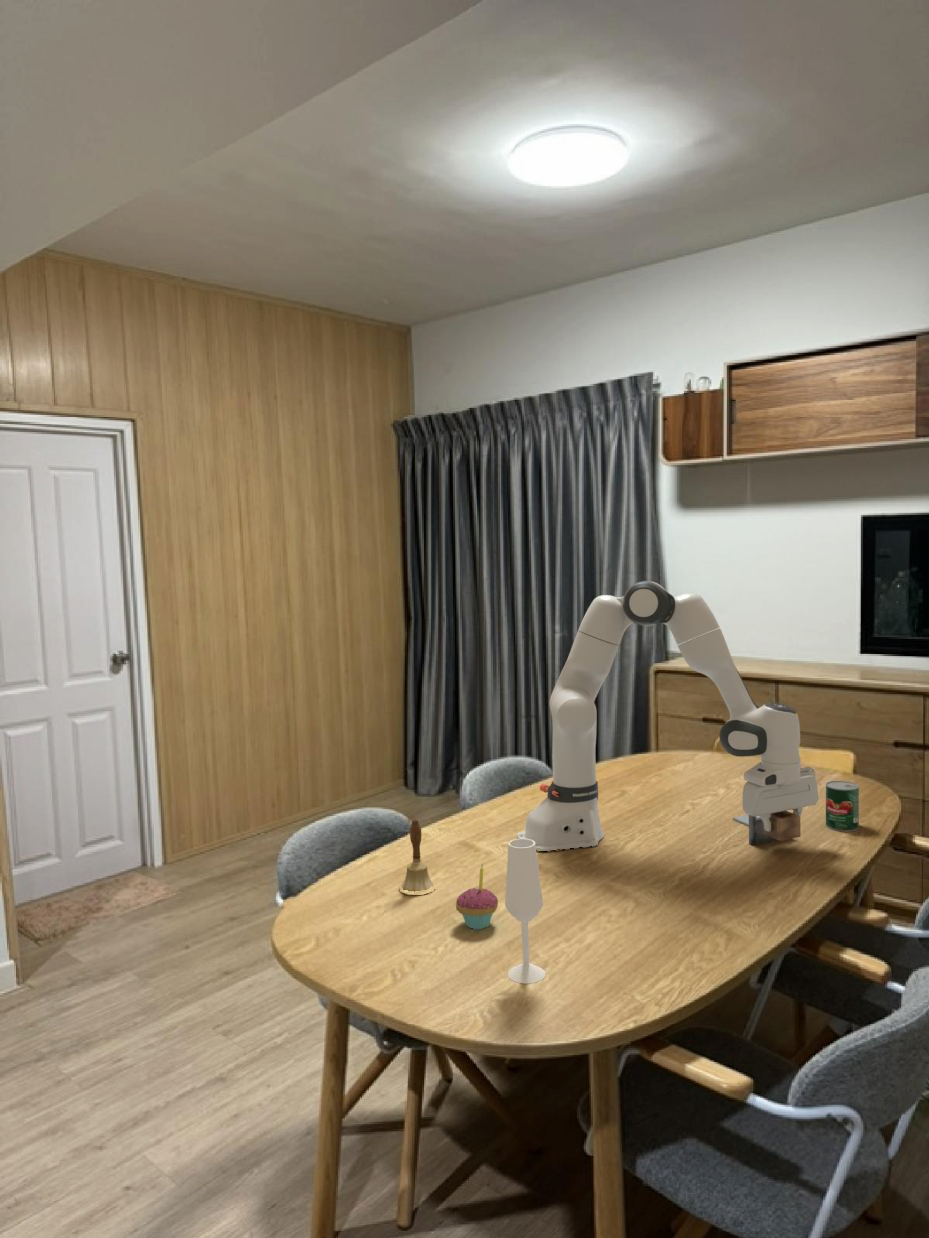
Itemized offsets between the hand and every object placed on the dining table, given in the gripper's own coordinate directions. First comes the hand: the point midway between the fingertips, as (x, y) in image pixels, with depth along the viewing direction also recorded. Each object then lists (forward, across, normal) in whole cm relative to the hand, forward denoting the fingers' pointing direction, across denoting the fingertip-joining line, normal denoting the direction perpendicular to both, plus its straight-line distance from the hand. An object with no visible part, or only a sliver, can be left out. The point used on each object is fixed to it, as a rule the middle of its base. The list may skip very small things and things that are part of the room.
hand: (781, 827), depth 205 cm
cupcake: (+6, +80, +3) cm, 81 cm away
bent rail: (+6, -2, -10) cm, 12 cm away
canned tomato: (+6, -25, -6) cm, 27 cm away
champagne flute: (+6, +80, +25) cm, 85 cm away
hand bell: (+6, +86, -20) cm, 88 cm away
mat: (+6, -8, -20) cm, 23 cm away
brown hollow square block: (+2, 0, 0) cm, 2 cm away
